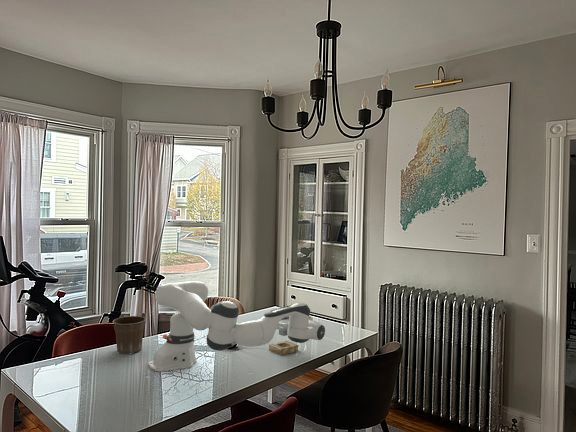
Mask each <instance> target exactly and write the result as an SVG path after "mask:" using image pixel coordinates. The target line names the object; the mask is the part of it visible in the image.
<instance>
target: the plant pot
mask: <svg viewBox="0 0 576 432" xmlns="http://www.w3.org/2000/svg"><path fill="white" fill-rule="evenodd" d="M146 320H147V319H146V317H144V316H140V315H129V316H121V317H118V318H115V319H113V320H112V324H113V329H114V331H115V340H116V342H115V343H116V351H117V353H118V352H119V353H118V354H124V355H127V353H131V354H135V352H136V353H138V352H139V351H142V350H143V349H142V348H143V337H144V328H145V322H146Z"/></svg>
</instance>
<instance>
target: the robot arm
mask: <svg viewBox="0 0 576 432" xmlns="http://www.w3.org/2000/svg"><path fill="white" fill-rule="evenodd" d="M208 296H209V288H208V286H207V284H206V283H205V282H203V281H197V280H191V281H181V282H179V281H178V282H169V283H168V282H167V283H165V284H161V285H159V286H158V287H157V288H156V290H155V293H154V297H155V302H156V303H157V304H158V305H159V306H162V307H166V308H170V309H172V310H174V311H176V312H174V313H173V314H172V316H171V317H170V321H169V322H170V323H169V324H170V325H169V326H170V327H169V328H170V329H169V332H170V333H168V335H167V334H165V333H164V334H163V335H162V338H163V339H164V340H166V341H165V342H164V343H163V344H162V345H161V346H160V347H159V348H157V350H155V352H154V354H153V359H152V360H151V361H149V362H148V364H149V366H148V367H149V368H150V369H151V370H152V371H155V372H158V373H159V372H161V373H162V372H170V371H176V370H181V369H187V368H192V367H193V365H194V364H196V363H197V358H196V353H195V352H196V351H195V344H194V343H195V331H194V330H196V331H204V330H206V329H207V331H208V332H207V336H206V345H207V346H208V347H209V348H210V349H212V350H214V351H217V352H218V351H219V352H220V351H225V350H228V349H229V348H232V347H233V346H234V345H235V344H236V345H238V346H243V347H260V346H264V345H267V344H269V343H270V342H271V341H272V340H273V338H274V336H275V334H276V330H278V331H279V330H282V331H286V330H288V331H287V335H286V336H287V338H288V339H289V340H290V342H294V343H296V344H297V343H298V344H304V343H307V342H308V341H310V340H315V341H322V340H323V339H324V337H325V335H326V327H325V326H324V324H322V323H321V322H319V321H316V320H314V318H313V316H310V315H311V309H310V307H309V306H308V304H306V303H304V302H295V303H292V304H290V305H287V306H283V307H280V308H276V309H271V310H269V311H267V312H265V313H264V314H263V316H261V318H259V319H255V320H247V321H244V322H243V321H242V322H239V323H238V322H237V321H238V317H239V315H240V308H239V306H238V305H237V304H236V303H235V302H232V301H230V300H223V301H222V300H221V301H219V302H216V304H213V305H211V306H210V308H209V306H208V305H207V304H206V303H205V301H206V300H207V298H208ZM288 316H289V319H285V320H282V318H285V317H288ZM169 370H170V371H169Z"/></svg>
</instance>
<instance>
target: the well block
mask: <svg viewBox="0 0 576 432" xmlns="http://www.w3.org/2000/svg"><path fill="white" fill-rule="evenodd" d="M268 351H270V352H273V353H274V354H276V355H278V356H283V355H287V354H291V353H295V352H298V351H299V344H297V343H295V342H294V343H293V342H292V341H289V340H283V341H280V342H279V341H278V342H274V343H270V344H269V343H268Z"/></svg>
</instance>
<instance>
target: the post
mask: <svg viewBox="0 0 576 432" xmlns="http://www.w3.org/2000/svg"><path fill="white" fill-rule="evenodd" d="M285 319H289V316H288V317H285V318H282V320H285ZM287 331H288V330H286V331H282V330H278V335H280V336H282V337H286V336H287Z"/></svg>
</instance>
